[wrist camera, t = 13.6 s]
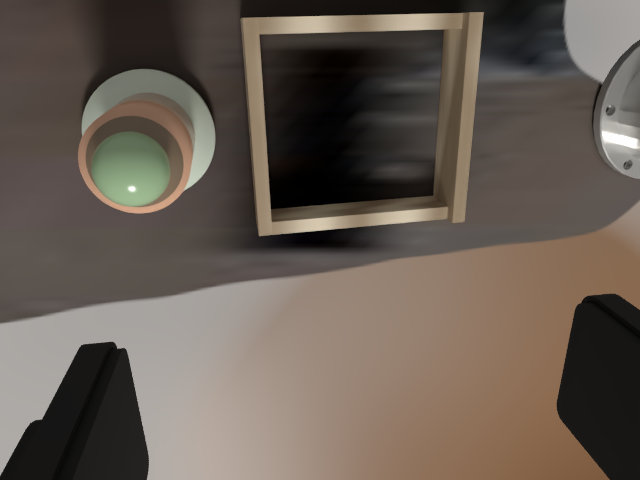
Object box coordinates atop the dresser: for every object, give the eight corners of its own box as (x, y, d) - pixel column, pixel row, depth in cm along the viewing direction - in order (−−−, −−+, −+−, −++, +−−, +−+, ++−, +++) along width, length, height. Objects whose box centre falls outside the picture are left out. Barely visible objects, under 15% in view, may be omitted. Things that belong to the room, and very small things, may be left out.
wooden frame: (457, 14, 37) (483, 12, 34) (443, 205, 43) (464, 221, 39) (240, 19, 35) (243, 17, 31) (256, 222, 40) (260, 240, 37)
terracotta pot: (190, 91, 35) (181, 115, 24) (199, 175, 37) (194, 230, 27) (99, 93, 34) (48, 120, 23) (114, 180, 36) (73, 239, 26)
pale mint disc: (208, 66, 35) (208, 67, 35) (221, 188, 39) (221, 192, 38) (72, 71, 34) (68, 72, 33) (98, 198, 37) (95, 202, 37)
